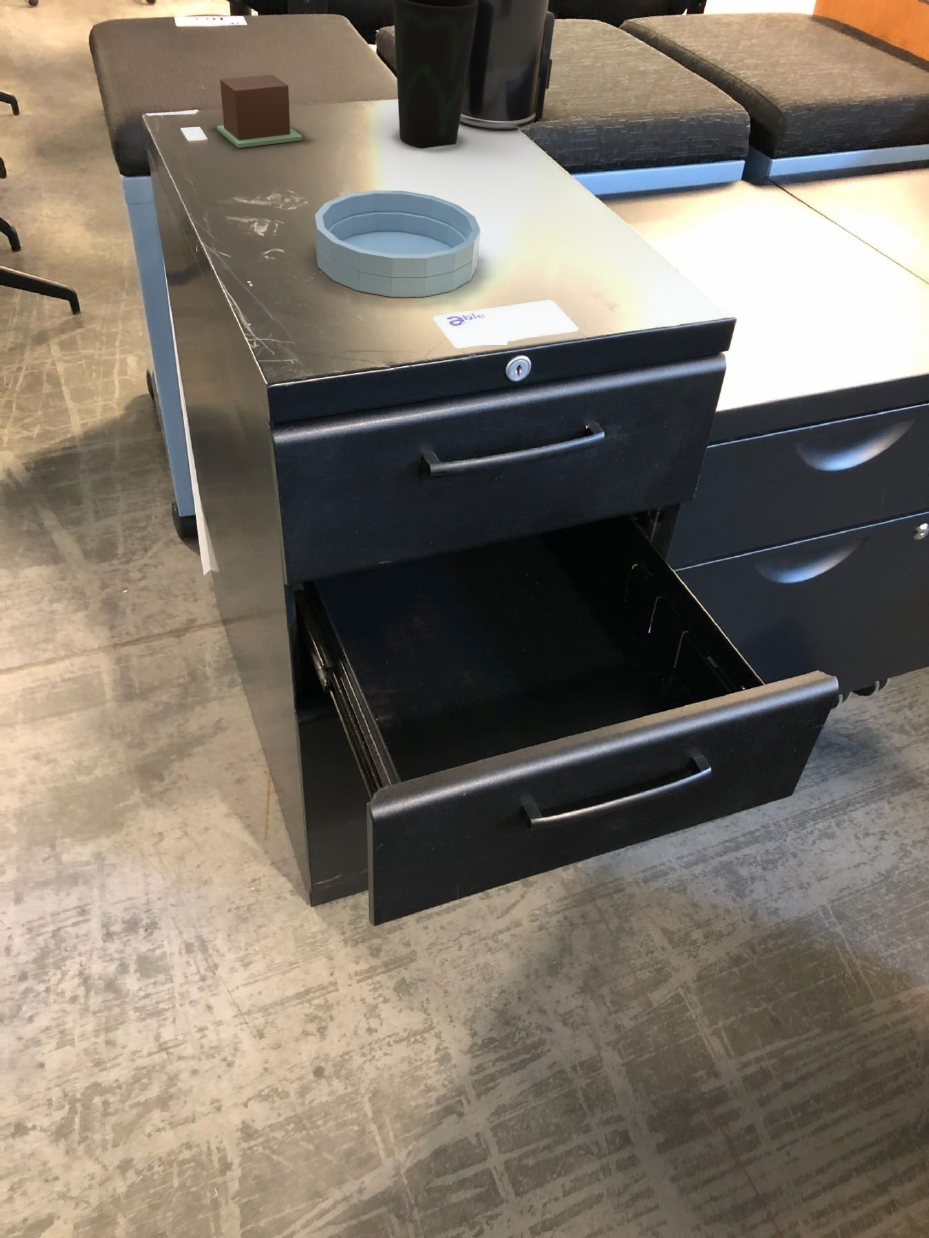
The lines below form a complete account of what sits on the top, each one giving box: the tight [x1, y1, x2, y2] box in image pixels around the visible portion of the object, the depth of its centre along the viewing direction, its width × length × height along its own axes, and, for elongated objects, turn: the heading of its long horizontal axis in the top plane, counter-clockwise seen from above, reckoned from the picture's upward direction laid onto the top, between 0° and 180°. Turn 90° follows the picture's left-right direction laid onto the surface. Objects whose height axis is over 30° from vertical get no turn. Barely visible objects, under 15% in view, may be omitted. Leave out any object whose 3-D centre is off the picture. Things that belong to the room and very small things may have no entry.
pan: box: [314, 189, 481, 298], centre depth 72 cm, size 12×12×4 cm
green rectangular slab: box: [216, 124, 303, 149], centre depth 91 cm, size 6×5×1 cm
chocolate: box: [219, 74, 291, 140], centre depth 89 cm, size 5×3×4 cm, turn 123°
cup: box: [392, 0, 479, 149], centre depth 90 cm, size 8×8×12 cm
